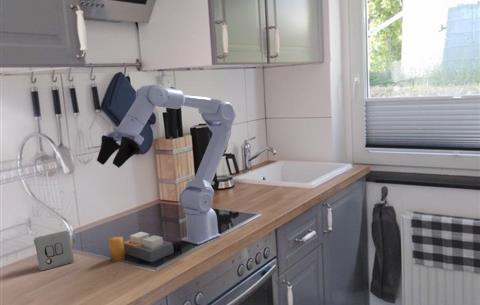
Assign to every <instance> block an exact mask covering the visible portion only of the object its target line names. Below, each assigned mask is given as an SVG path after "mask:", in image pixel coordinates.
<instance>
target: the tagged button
mask: <svg viewBox="0 0 480 305" xmlns="http://www.w3.org/2000/svg"><path fill="white" fill-rule="evenodd" d="M148 237H150V233H148V232H143V231H139V232H136V233H134V234H130V236H129V240H130V241H131V243H133V244H136V245H138V244H141V243H143V239H145V238H148Z"/></svg>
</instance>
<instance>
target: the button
mask: <svg viewBox="0 0 480 305" xmlns="http://www.w3.org/2000/svg"><path fill="white" fill-rule="evenodd" d="M163 240H164V237H162V236H159V235H151V236H150V235H149V237H148V238H145V239H143V245H144V247H146V248H150V249H154V248H156V247H159V246H161V245H163Z"/></svg>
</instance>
